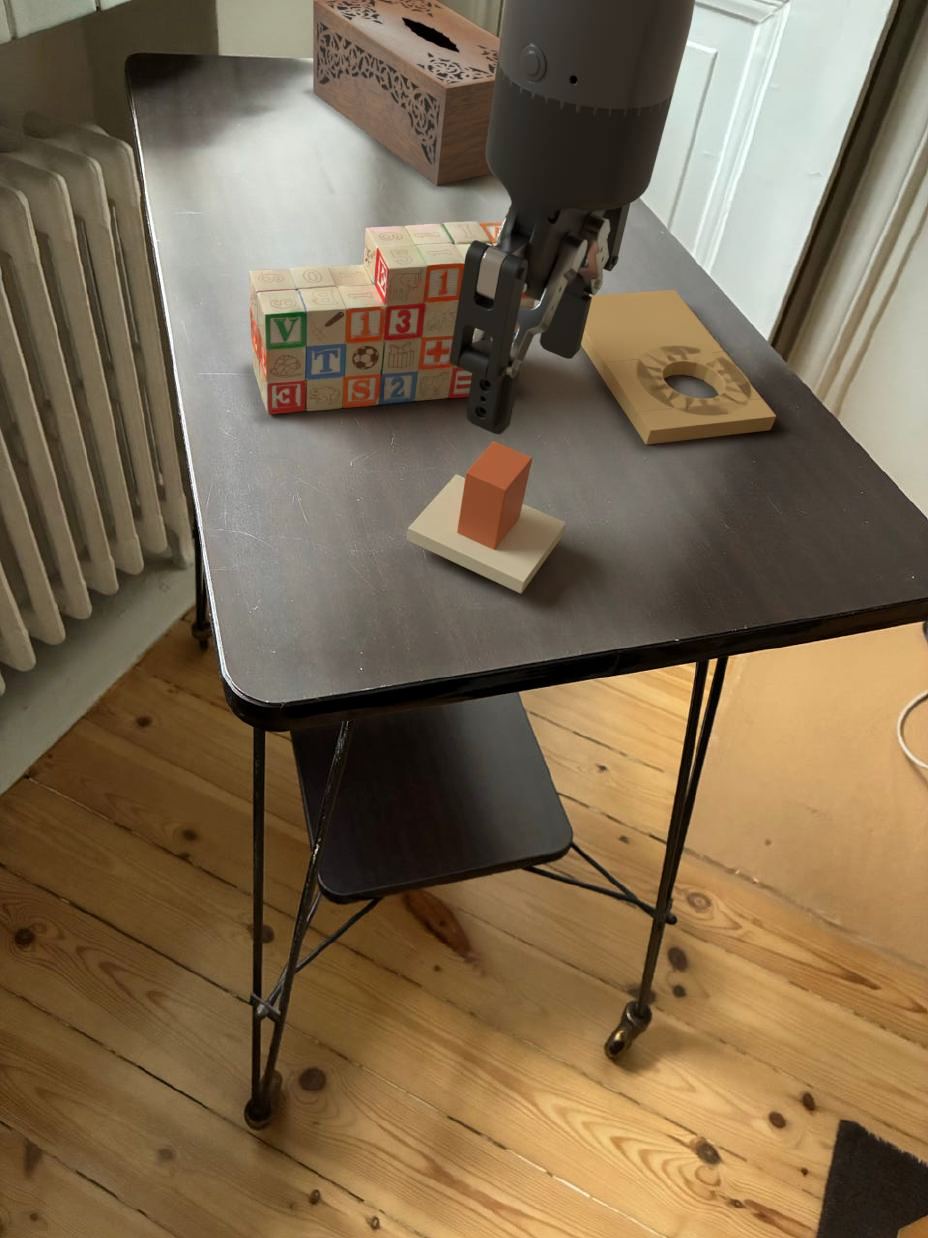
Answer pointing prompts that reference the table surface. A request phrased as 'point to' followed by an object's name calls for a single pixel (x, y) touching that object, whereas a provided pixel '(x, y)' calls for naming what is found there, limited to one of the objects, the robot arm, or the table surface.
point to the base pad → (668, 368)
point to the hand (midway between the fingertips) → (524, 386)
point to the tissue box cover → (409, 80)
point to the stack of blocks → (366, 322)
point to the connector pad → (478, 557)
